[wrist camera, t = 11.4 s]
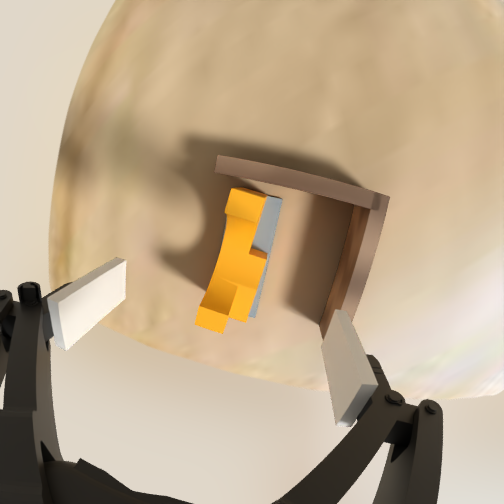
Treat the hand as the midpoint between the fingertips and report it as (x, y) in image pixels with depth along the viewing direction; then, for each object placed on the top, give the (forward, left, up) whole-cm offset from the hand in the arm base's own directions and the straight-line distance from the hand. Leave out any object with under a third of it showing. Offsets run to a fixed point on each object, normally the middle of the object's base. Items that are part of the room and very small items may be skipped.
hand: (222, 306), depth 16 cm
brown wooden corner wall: (-1, +4, -13) cm, 13 cm away
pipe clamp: (0, 0, -13) cm, 13 cm away
